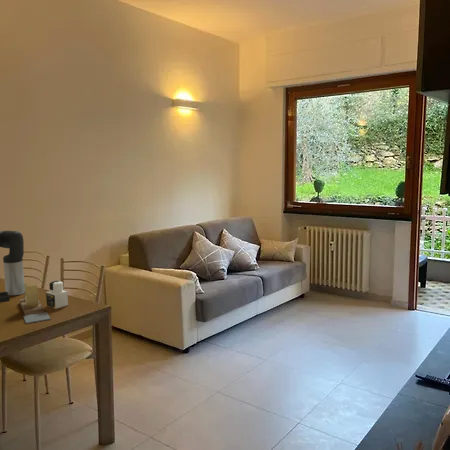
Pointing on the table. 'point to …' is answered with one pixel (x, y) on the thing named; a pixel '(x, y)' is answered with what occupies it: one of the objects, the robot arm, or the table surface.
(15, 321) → the table surface
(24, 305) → the plane base
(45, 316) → the rubber mat
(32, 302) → the tan wooden block
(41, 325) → the table surface
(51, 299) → the medicine bottle
